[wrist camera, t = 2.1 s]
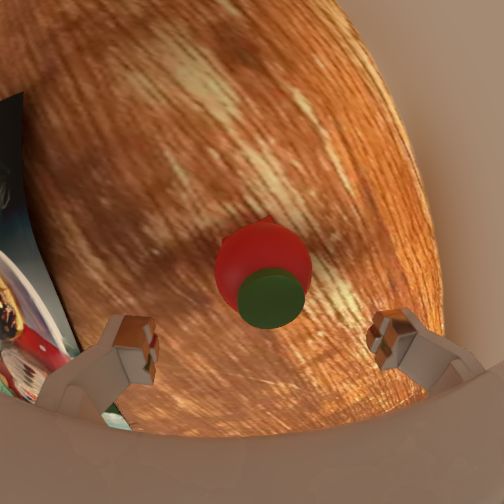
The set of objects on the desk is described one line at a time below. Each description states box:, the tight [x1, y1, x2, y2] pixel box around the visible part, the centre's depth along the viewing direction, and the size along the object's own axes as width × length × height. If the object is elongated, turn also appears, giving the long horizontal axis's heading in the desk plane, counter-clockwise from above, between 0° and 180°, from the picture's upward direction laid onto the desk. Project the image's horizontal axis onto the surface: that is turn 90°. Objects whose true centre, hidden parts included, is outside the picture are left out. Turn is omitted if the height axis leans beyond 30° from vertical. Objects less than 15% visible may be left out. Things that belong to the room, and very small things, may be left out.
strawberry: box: [215, 216, 312, 329], centre depth 12 cm, size 4×4×5 cm
